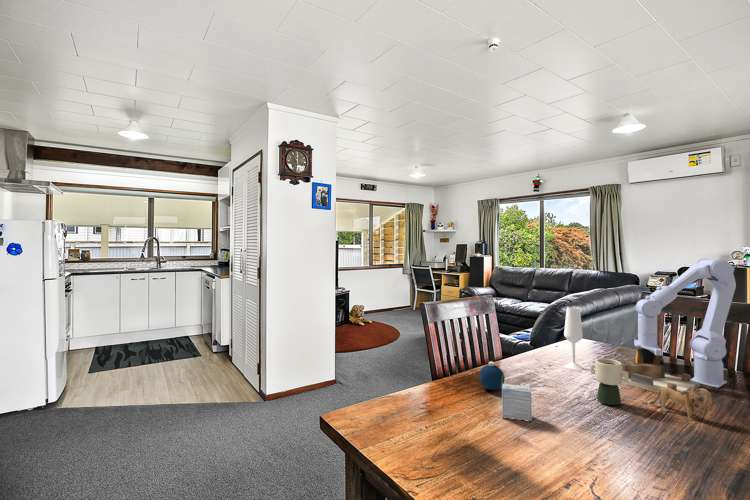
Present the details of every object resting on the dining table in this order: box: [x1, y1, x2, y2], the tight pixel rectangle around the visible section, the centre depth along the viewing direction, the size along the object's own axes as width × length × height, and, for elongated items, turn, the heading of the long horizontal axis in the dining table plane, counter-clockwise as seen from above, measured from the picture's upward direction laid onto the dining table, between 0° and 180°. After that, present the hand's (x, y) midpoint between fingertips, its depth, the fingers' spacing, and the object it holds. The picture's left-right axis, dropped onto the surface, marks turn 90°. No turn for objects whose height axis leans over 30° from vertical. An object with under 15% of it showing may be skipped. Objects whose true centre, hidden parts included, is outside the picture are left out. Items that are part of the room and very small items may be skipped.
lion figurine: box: [649, 387, 713, 422], centre depth 108 cm, size 15×5×9 cm, turn 35°
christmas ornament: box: [478, 359, 505, 391], centre depth 128 cm, size 8×8×10 cm
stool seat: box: [621, 360, 700, 394], centre depth 133 cm, size 18×22×4 cm
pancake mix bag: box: [634, 308, 663, 364], centre depth 152 cm, size 7×19×28 cm, turn 122°
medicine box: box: [501, 383, 533, 422], centre depth 107 cm, size 8×4×9 cm, turn 71°
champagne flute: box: [563, 306, 584, 371], centre depth 151 cm, size 7×7×24 cm
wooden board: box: [621, 362, 666, 378], centre depth 135 cm, size 14×3×4 cm, turn 85°
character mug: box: [589, 358, 628, 406], centre depth 116 cm, size 11×7×13 cm, turn 35°
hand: (647, 369), depth 137 cm, fingers closed, pressing on wooden board
